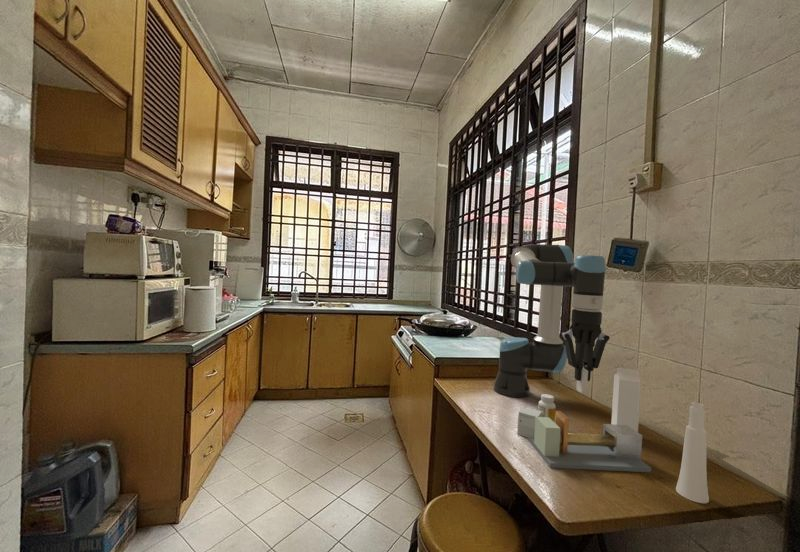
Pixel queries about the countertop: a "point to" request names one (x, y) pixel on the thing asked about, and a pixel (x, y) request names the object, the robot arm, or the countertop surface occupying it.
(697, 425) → the cosmetic bottle
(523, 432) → the product box
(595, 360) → the robot arm
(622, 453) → the grey cube end cap
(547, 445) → the socket
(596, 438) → the tube
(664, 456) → the countertop surface
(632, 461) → the board
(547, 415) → the supplement bottle
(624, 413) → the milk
